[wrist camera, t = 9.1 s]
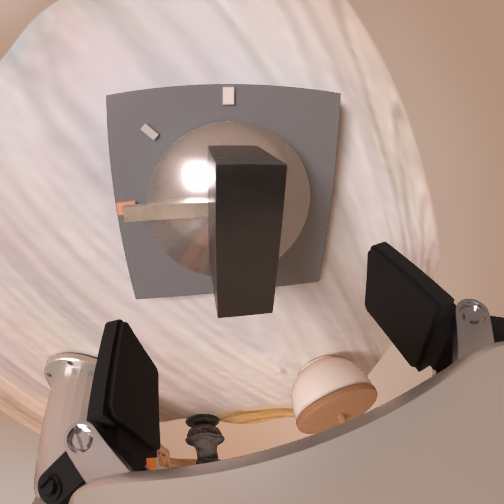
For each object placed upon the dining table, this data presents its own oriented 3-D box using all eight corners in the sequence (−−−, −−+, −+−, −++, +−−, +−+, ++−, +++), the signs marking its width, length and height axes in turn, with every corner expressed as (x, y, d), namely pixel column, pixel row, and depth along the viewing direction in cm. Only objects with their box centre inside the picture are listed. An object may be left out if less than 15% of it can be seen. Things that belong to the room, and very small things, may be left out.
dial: (309, 124, 18) (369, 140, 12) (293, 261, 23) (331, 322, 17) (123, 126, 15) (82, 139, 9) (139, 271, 21) (124, 341, 14)
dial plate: (311, 269, 27) (319, 282, 25) (138, 285, 24) (135, 300, 22) (328, 93, 19) (341, 93, 17) (114, 96, 16) (105, 95, 14)
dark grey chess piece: (227, 415, 38) (241, 484, 27) (212, 430, 40) (224, 493, 29) (190, 411, 35) (199, 484, 25) (179, 426, 37) (186, 492, 27)
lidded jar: (364, 358, 37) (392, 407, 29) (307, 397, 39) (327, 446, 31) (332, 331, 32) (366, 391, 24) (265, 378, 34) (284, 440, 26)
